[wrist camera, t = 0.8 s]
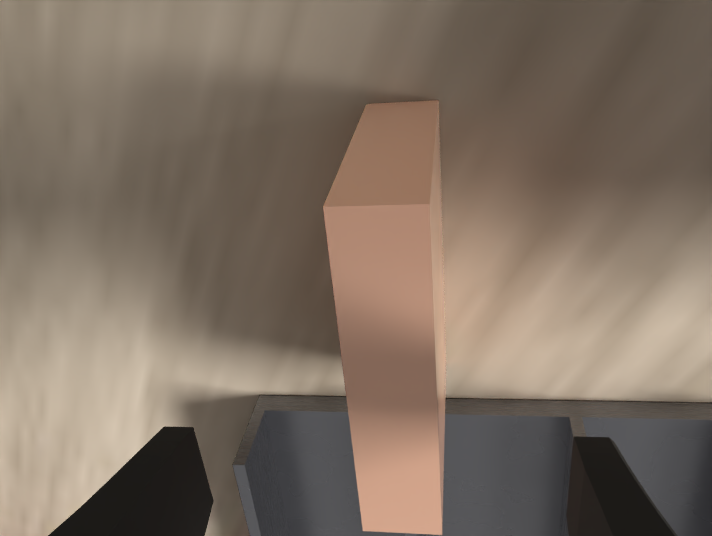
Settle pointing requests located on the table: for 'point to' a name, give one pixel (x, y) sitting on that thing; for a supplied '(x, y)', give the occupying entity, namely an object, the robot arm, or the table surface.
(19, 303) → the table surface
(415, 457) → the upright salmon slab
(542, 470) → the rack
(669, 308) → the table surface
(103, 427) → the table surface
